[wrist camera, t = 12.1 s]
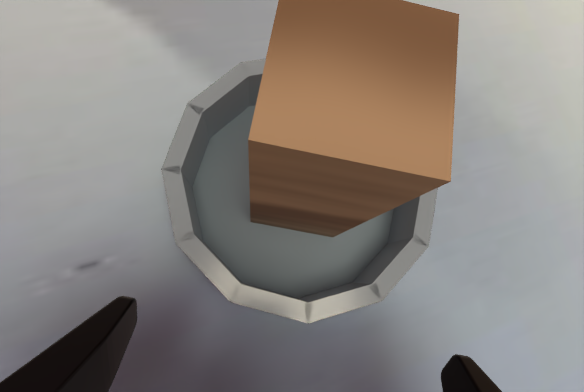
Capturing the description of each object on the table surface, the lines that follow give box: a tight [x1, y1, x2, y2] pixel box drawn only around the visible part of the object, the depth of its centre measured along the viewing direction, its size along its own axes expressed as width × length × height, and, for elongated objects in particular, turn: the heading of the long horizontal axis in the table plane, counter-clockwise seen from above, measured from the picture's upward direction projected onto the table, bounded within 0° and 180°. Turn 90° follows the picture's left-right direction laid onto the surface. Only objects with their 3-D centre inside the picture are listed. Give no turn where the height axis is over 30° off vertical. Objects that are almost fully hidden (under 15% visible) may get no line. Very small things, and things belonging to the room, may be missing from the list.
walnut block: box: [248, 0, 459, 237], centre depth 13 cm, size 4×4×11 cm
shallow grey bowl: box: [161, 59, 438, 323], centre depth 17 cm, size 13×13×4 cm
